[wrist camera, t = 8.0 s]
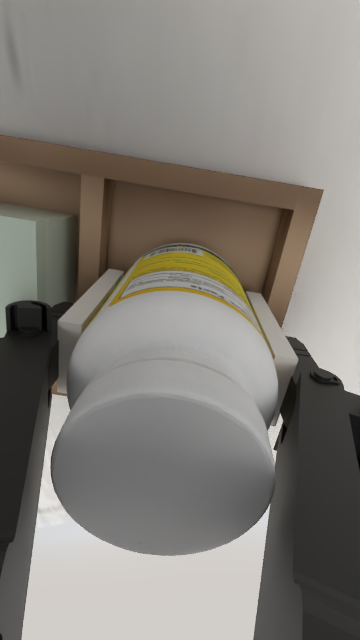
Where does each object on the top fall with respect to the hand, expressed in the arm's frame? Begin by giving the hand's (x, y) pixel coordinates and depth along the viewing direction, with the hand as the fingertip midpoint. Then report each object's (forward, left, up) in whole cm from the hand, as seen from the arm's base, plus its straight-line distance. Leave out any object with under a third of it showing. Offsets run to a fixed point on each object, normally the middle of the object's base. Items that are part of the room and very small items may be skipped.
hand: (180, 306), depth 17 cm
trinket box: (0, -10, -2) cm, 10 cm away
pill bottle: (0, 0, 0) cm, 0 cm away
